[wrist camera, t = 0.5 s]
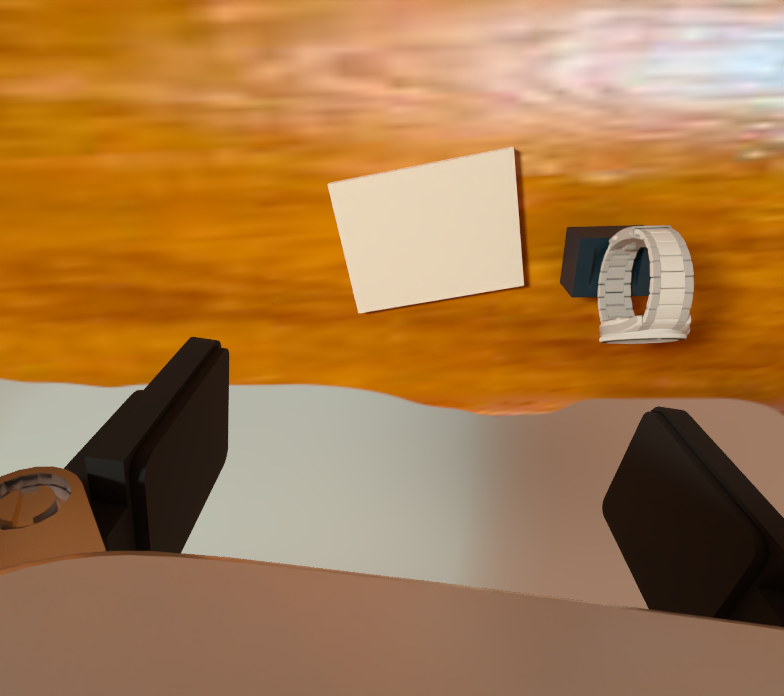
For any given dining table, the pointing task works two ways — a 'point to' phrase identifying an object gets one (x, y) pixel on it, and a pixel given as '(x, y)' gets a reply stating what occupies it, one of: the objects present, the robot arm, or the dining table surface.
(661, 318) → the watch
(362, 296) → the pad
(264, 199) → the dining table surface
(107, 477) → the robot arm
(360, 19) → the dining table surface
